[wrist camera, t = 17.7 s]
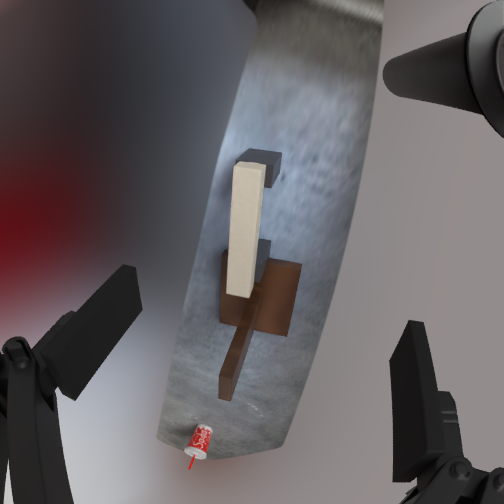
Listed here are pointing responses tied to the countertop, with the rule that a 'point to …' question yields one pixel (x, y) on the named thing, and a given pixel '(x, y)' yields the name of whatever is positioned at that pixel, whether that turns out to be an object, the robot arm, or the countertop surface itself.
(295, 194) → the countertop surface
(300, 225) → the countertop surface
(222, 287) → the headphone stand
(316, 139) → the countertop surface
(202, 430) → the beverage cup
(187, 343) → the countertop surface
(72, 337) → the robot arm
